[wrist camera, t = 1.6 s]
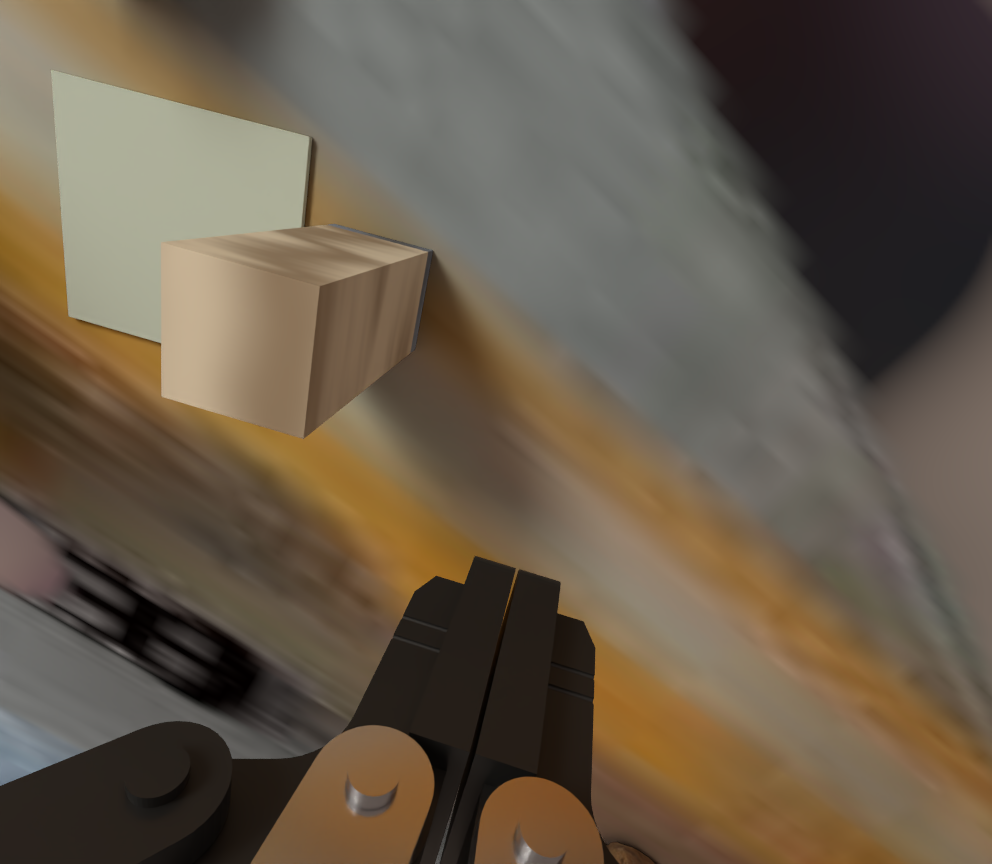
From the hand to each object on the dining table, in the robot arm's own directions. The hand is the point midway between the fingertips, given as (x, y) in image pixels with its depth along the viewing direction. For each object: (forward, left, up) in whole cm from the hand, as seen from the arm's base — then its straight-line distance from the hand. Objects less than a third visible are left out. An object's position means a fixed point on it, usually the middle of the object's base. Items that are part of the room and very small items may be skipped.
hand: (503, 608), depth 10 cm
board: (-21, 0, -20) cm, 29 cm away
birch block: (-10, 0, -20) cm, 22 cm away
